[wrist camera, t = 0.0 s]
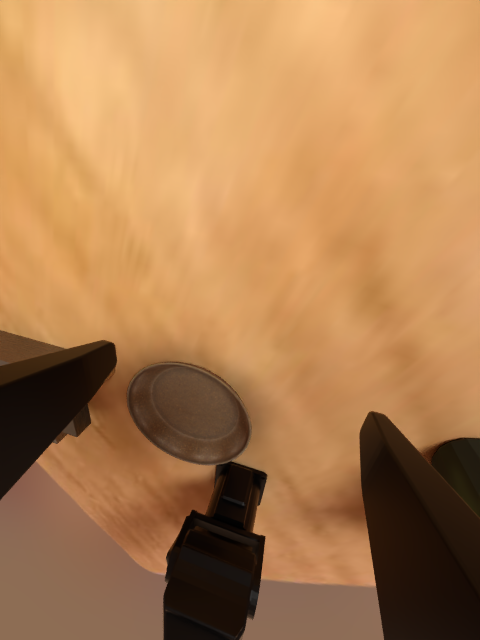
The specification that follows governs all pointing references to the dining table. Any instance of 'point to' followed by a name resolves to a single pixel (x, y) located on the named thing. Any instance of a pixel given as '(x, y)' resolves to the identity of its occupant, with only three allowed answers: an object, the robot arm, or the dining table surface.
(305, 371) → the dining table surface
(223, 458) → the saucer
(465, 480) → the potion bottle
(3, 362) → the block
